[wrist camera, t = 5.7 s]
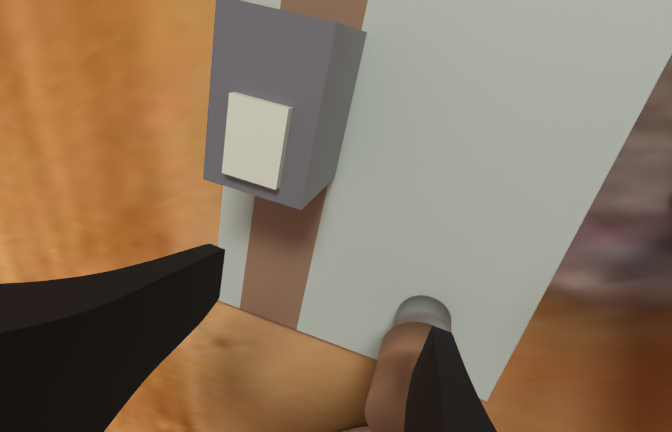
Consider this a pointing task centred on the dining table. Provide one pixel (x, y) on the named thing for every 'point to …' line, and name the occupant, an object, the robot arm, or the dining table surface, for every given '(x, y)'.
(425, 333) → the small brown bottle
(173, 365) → the dining table surface
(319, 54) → the block
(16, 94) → the dining table surface
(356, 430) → the planter
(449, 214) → the panel
